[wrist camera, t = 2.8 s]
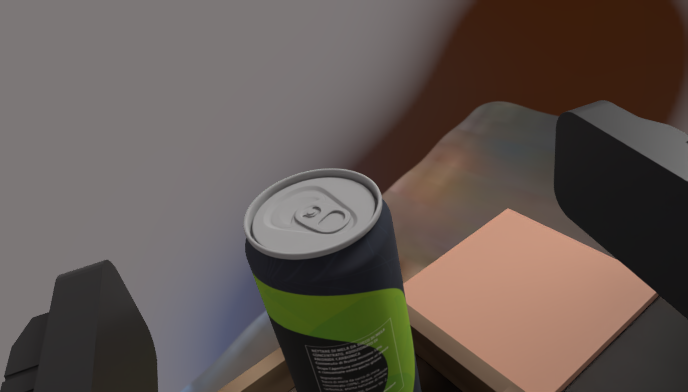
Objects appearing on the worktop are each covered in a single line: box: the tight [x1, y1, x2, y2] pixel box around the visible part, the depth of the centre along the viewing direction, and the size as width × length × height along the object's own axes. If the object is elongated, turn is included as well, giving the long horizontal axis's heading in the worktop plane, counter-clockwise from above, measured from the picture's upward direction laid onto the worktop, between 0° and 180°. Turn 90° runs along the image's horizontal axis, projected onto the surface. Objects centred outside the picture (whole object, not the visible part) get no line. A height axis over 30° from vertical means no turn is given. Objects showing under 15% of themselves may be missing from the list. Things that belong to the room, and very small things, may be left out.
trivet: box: [403, 209, 659, 392], centre depth 36 cm, size 12×12×1 cm
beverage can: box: [243, 169, 421, 392], centre depth 27 cm, size 6×6×15 cm
